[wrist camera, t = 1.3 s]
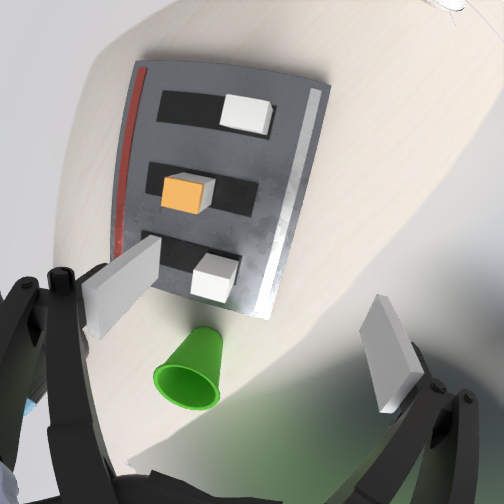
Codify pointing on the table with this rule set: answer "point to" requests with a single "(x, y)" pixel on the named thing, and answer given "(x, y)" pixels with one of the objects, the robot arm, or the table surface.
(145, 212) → the panel
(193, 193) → the block
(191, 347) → the cup
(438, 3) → the white oval ovoid
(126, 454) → the table surface
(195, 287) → the block
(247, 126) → the block
